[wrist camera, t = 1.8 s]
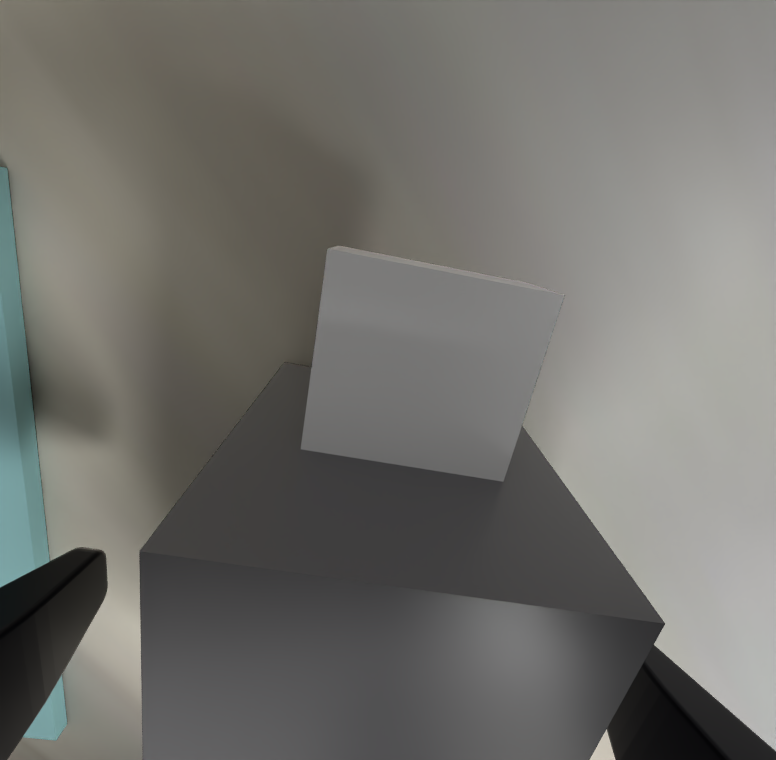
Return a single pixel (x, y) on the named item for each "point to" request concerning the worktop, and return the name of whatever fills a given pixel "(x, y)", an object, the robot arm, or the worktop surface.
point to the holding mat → (20, 452)
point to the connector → (390, 549)
